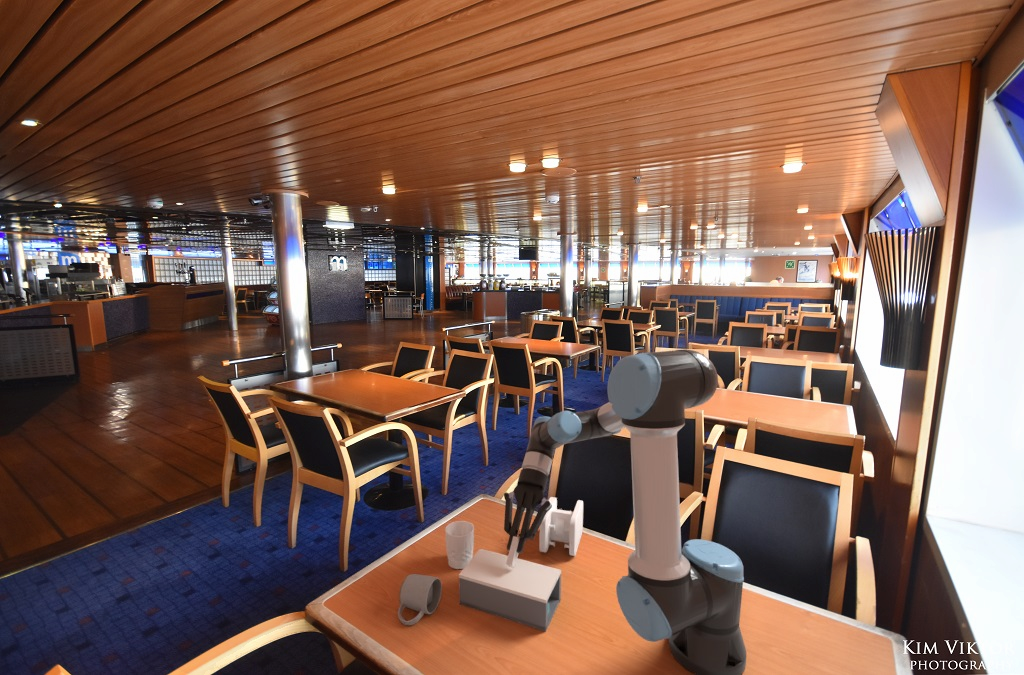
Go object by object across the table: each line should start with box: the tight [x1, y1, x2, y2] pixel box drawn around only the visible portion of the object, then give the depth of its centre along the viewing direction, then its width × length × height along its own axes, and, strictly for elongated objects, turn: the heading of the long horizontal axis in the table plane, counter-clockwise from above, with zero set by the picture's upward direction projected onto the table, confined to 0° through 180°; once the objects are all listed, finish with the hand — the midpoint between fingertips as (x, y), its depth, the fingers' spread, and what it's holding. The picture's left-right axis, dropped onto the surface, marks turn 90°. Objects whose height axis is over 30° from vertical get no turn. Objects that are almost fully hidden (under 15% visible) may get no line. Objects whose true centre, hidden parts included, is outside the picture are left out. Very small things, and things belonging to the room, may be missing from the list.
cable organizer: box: [538, 496, 584, 557], centre depth 138 cm, size 15×11×12 cm
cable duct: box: [458, 573, 562, 632], centre depth 114 cm, size 22×11×7 cm, turn 67°
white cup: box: [444, 520, 475, 570], centre depth 130 cm, size 8×8×10 cm
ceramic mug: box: [397, 573, 443, 626], centre depth 112 cm, size 11×8×8 cm
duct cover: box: [458, 548, 562, 603], centre depth 114 cm, size 22×11×1 cm, turn 67°
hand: (510, 565), depth 114 cm, fingers closed
